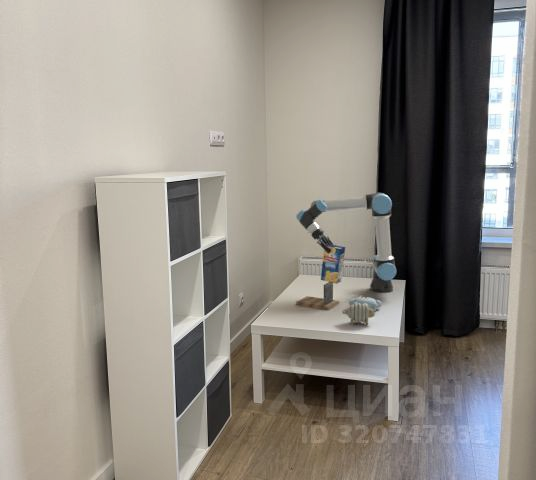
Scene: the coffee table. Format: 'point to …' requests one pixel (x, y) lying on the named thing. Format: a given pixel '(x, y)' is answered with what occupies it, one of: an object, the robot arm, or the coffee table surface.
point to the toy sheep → (359, 313)
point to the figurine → (367, 302)
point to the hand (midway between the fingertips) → (340, 259)
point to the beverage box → (333, 264)
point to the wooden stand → (320, 299)
